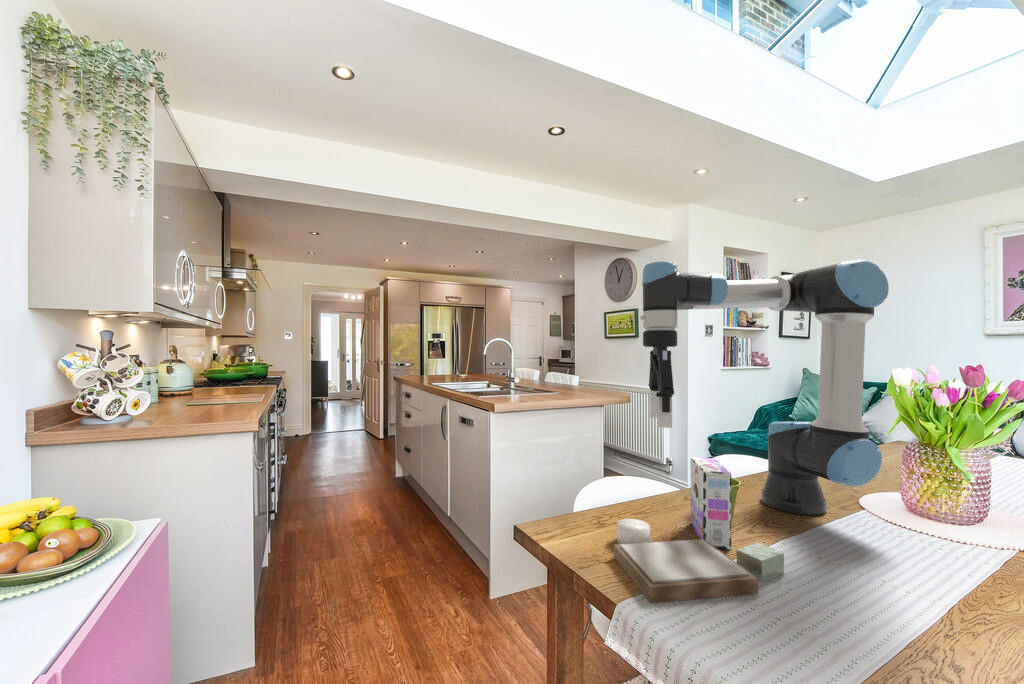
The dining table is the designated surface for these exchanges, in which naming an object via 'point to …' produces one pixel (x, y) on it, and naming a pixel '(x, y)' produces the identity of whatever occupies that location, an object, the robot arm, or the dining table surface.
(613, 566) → the dining table surface
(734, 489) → the plant pot
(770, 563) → the pale green block
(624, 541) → the white rounded dome
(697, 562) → the picture frame
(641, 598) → the dining table surface
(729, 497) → the candy box
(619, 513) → the dining table surface
